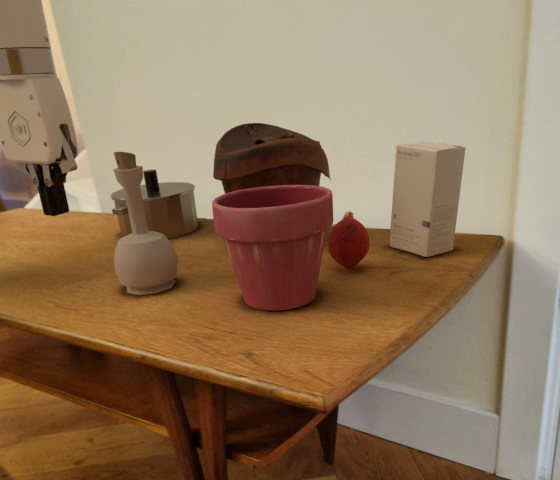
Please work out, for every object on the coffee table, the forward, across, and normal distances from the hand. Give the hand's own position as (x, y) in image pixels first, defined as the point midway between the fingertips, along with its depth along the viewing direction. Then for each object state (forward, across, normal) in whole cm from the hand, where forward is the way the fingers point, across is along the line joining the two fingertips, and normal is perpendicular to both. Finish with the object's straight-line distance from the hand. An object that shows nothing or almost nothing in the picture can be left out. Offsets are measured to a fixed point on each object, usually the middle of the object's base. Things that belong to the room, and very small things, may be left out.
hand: (57, 213), depth 78 cm
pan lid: (+3, -6, +28) cm, 28 cm away
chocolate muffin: (+9, +20, +28) cm, 35 cm away
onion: (+8, +38, +16) cm, 42 cm away
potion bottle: (+10, +14, +2) cm, 17 cm away
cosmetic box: (+8, +45, +28) cm, 54 cm away
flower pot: (+9, +34, +3) cm, 35 cm away
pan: (+10, -6, +28) cm, 30 cm away
